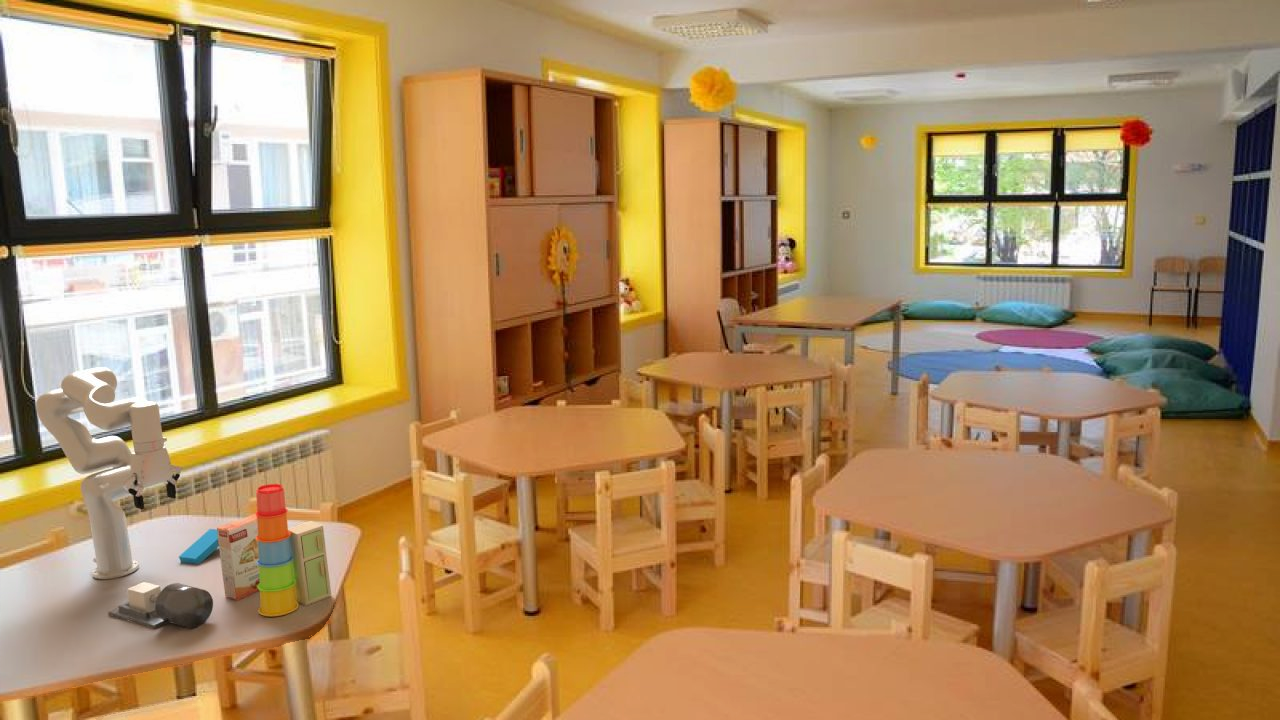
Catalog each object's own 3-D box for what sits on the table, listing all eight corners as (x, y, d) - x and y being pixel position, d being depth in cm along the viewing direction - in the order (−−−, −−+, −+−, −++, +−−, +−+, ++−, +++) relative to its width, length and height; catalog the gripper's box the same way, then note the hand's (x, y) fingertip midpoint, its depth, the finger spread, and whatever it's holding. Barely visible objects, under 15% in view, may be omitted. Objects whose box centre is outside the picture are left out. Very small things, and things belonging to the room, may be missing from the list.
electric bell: (109, 615, 265) (103, 580, 263) (149, 597, 275) (144, 564, 273) (178, 636, 250) (173, 600, 249) (218, 616, 261) (213, 582, 259)
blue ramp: (203, 576, 301) (241, 541, 316) (195, 558, 298) (234, 523, 313) (186, 574, 303) (224, 539, 318) (178, 556, 300) (217, 522, 315)
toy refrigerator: (307, 607, 264) (298, 534, 260) (293, 600, 269) (284, 528, 265) (333, 596, 270) (325, 525, 266) (319, 590, 275) (311, 520, 271)
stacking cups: (268, 601, 269) (252, 482, 262) (304, 600, 268) (289, 481, 262) (252, 618, 259) (236, 495, 252) (290, 617, 258) (274, 493, 251)
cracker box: (238, 601, 270) (228, 530, 266) (224, 597, 273) (214, 527, 269) (280, 582, 281) (271, 514, 277) (266, 578, 285) (257, 511, 281)
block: (130, 609, 266) (127, 589, 265) (147, 602, 270) (143, 581, 269) (151, 615, 261) (147, 594, 260) (167, 607, 266) (164, 587, 264)
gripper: (169, 436, 282) (176, 491, 285) (111, 451, 267) (119, 510, 271) (184, 439, 278) (191, 495, 281) (126, 455, 263) (134, 515, 267)
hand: (156, 502), depth 276 cm, fingers open, 9 cm apart
